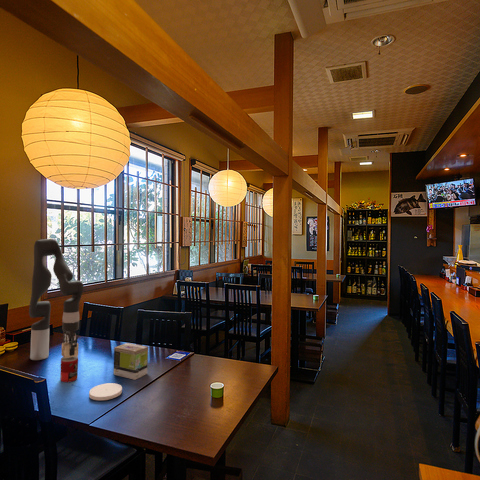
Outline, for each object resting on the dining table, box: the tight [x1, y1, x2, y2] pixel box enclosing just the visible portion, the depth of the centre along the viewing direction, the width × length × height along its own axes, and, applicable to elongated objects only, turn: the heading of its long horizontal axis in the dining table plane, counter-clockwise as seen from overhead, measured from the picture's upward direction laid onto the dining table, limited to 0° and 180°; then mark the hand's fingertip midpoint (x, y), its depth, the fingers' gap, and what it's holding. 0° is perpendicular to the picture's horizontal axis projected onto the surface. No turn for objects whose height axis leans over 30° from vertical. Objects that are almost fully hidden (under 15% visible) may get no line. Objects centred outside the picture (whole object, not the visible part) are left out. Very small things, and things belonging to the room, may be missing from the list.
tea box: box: [113, 342, 149, 381], centre depth 173 cm, size 15×10×15 cm
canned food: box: [59, 355, 79, 383], centre depth 164 cm, size 8×8×11 cm
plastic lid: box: [88, 382, 123, 401], centre depth 149 cm, size 14×14×2 cm
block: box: [60, 342, 80, 358], centre depth 164 cm, size 6×6×6 cm
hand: (69, 353), depth 164 cm, fingers closed on block, 5 cm apart
